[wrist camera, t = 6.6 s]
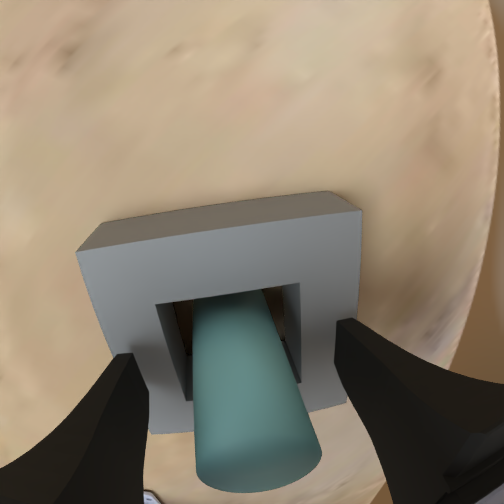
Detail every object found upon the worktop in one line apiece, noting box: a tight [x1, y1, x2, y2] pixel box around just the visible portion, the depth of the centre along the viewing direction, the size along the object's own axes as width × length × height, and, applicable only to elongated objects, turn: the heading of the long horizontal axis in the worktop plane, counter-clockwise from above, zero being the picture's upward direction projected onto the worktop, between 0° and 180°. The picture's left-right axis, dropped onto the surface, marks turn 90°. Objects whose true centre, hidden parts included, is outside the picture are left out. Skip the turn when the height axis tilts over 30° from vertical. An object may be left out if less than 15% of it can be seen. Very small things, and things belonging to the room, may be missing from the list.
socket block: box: [75, 191, 362, 434], centre depth 13 cm, size 9×9×3 cm
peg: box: [192, 289, 322, 493], centre depth 10 cm, size 3×3×8 cm
